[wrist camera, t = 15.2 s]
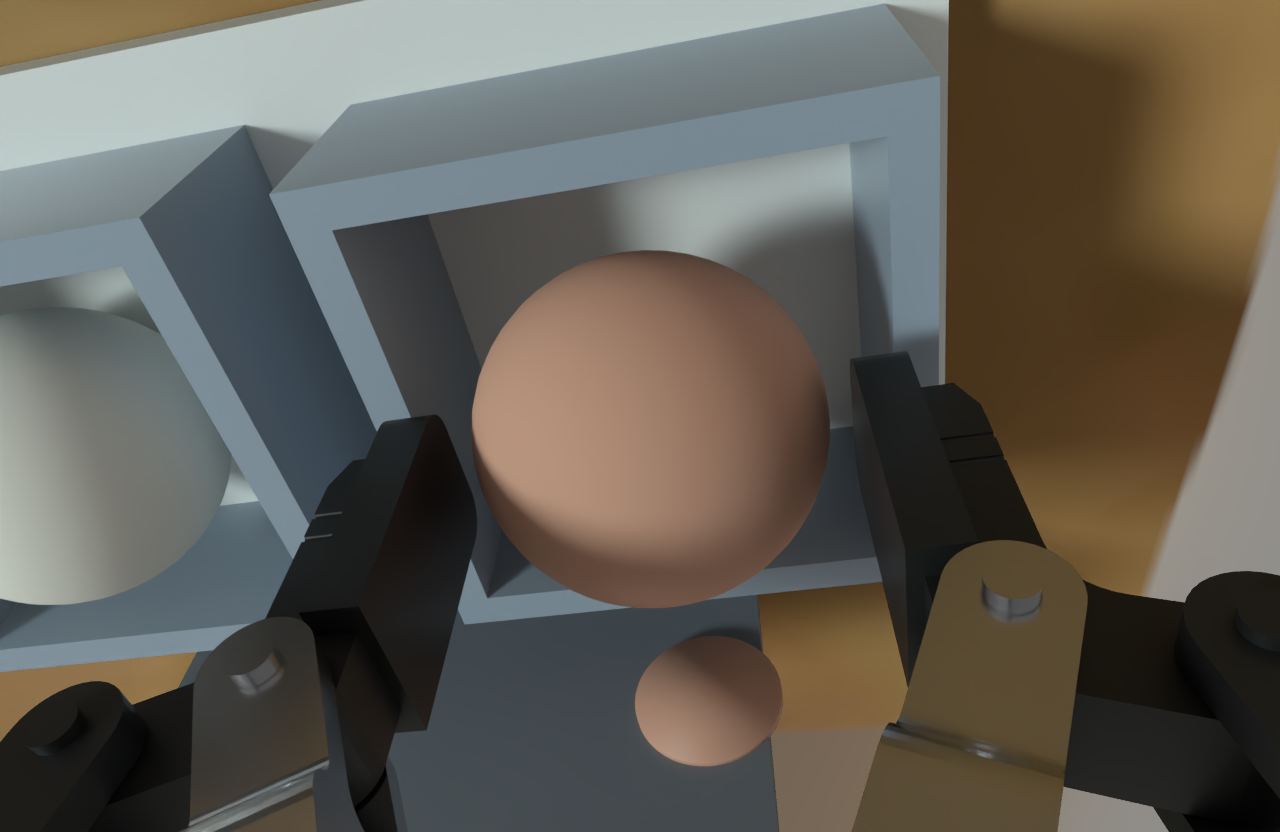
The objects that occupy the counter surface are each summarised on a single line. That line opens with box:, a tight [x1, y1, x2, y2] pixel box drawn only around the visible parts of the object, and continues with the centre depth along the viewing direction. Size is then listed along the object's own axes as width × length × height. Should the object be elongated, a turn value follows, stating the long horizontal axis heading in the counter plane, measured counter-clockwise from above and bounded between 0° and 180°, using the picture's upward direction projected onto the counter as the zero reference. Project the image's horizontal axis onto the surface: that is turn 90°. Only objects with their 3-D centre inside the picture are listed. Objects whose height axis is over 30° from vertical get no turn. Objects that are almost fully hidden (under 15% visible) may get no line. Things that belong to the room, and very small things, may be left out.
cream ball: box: [0, 307, 231, 605], centre depth 15 cm, size 5×5×5 cm
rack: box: [0, 0, 949, 672], centre depth 16 cm, size 11×20×4 cm, turn 101°
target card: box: [178, 595, 783, 832], centre depth 18 cm, size 1×13×8 cm, turn 102°
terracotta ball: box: [471, 250, 830, 608], centre depth 13 cm, size 5×5×5 cm
